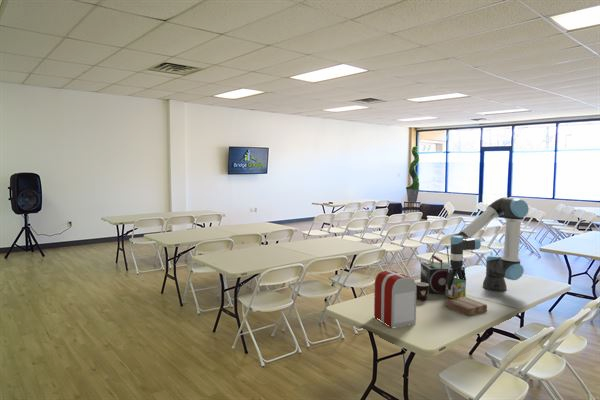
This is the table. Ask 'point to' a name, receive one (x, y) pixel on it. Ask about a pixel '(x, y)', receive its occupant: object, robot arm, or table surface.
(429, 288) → the boombox
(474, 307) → the walnut base
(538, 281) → the table surface
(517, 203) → the robot arm
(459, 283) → the chalk box
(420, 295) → the coffee mug
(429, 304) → the table surface
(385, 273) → the red white striped case
